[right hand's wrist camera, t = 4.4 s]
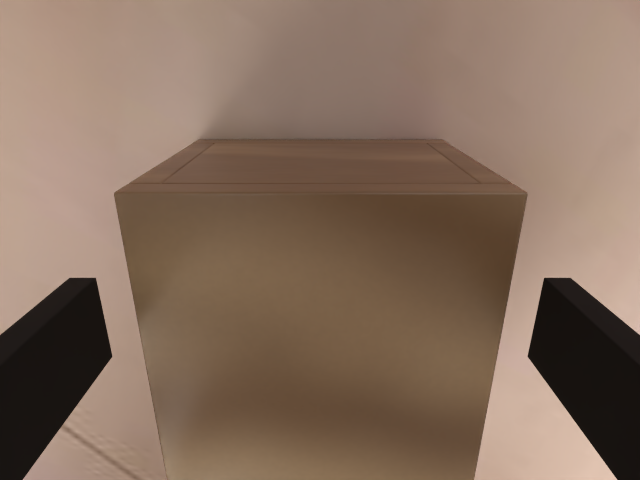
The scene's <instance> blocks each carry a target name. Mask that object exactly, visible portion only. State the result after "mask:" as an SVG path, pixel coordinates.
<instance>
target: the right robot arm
mask: <svg viewBox="0 0 640 480" xmlns="http://www.w3.org/2000/svg"><path fill="white" fill-rule="evenodd" d="M111 358H112V353H111V348H110V343H109V339H108V334H107V329H106V324H105V319H104V315H103V310H102V305H101V300H100V296H99V291H98V286H97V281H96V278H69V279H68V280H67V281H65V282H64V283H63V284H62V285H60V286H59V287H58V288H57V289H56V290H54V291H53V292H52V293H51V294H50V295H48V296H47V297H46V298H45V299H44V300H42V301H41V302H40V303H39V304H37V305H36V306H35V307H34V308H33V309H31V310H30V311H29V312H28V313H27V314H25V315H24V316H23V317H22V318H21V319H19V320H18V321H17V322H16V323H14V324H13V325H12V326H11V327H10V328H8V329H7V330H6V331H5V332H4V333H2V334H1V335H0V480H23V478H24V477H25V476H26V474H27V473H28V471H29V470H30V469H31V467H32V466H33V465H34V463H35V462H36V461H37V459H38V458H39V456H40V455H41V454H42V452H43V451H44V450H45V448H46V447H47V445H48V444H49V443H50V441H51V440H52V439H53V437H54V436H55V434H56V433H57V432H58V430H59V429H60V428H61V426H62V425H63V423H64V422H65V421H66V419H67V418H68V417H69V415H70V414H71V412H72V411H73V410H74V408H75V407H76V406H77V404H78V403H79V401H80V400H81V399H82V397H83V396H84V395H85V393H86V392H87V390H88V389H89V388H90V386H91V385H92V384H93V382H94V381H95V379H96V378H97V377H98V375H99V374H100V373H101V371H102V370H103V368H104V367H105V366H106V364H107V363H108V362H109V360H110V359H111ZM528 358H529V359H530V360H531V362H532V363H533V364H534V366H535V367H536V368H537V370H538V371H539V373H540V374H541V375H542V377H543V378H544V379H545V381H546V382H547V384H548V385H549V386H550V388H551V389H552V390H553V392H554V393H555V395H556V396H557V397H558V399H559V400H560V401H561V403H562V404H563V406H564V407H565V408H566V410H567V411H568V412H569V414H570V415H571V417H572V418H573V419H574V421H575V422H576V423H577V425H578V426H579V428H580V429H581V430H582V432H583V433H584V434H585V436H586V437H587V439H588V440H589V441H590V443H591V444H592V445H593V447H594V448H595V450H596V451H597V452H598V454H599V455H600V456H601V458H602V459H603V461H604V462H605V463H606V465H607V466H608V467H609V469H610V470H611V471H612V473H613V474H614V476H615V477H616V478H617V480H640V335H639V334H638V333H636V332H635V331H634V330H633V329H632V328H630V327H629V326H628V325H627V324H626V323H624V322H623V321H622V320H621V319H619V318H618V317H617V316H616V315H615V314H613V313H612V312H611V311H610V310H609V309H607V308H606V307H605V306H604V305H603V304H601V303H600V302H599V301H598V300H596V299H595V298H594V297H593V296H592V295H590V294H589V293H588V292H587V291H586V290H584V289H583V288H582V287H581V286H580V285H578V284H577V283H576V282H575V281H573V280H572V279H571V278H544V281H543V286H542V291H541V296H540V300H539V305H538V310H537V315H536V319H535V324H534V329H533V334H532V339H531V343H530V348H529V353H528Z"/></svg>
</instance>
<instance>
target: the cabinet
mask: <svg viewBox="0 0 640 480" xmlns="http://www.w3.org/2000/svg"><path fill="white" fill-rule="evenodd" d="M114 197H115V202H116V208H117V213H118V218H119V224H120V229H121V235H122V240H123V245H124V251H125V256H126V261H127V267H128V272H129V277H130V283H131V288H132V294H133V299H134V304H135V310H136V315H137V320H138V326H139V331H140V336H141V342H142V347H143V353H144V358H145V363H146V369H147V374H148V379H149V385H150V390H151V395H152V401H153V406H154V412H155V417H156V422H157V428H158V433H159V438H160V444H161V449H162V454H163V460H164V465H165V471H166V476H167V480H474V477H475V471H476V466H477V461H478V455H479V450H480V445H481V439H482V434H483V429H484V423H485V418H486V413H487V407H488V402H489V397H490V391H491V386H492V381H493V375H494V370H495V365H496V359H497V354H498V349H499V343H500V338H501V333H502V327H503V322H504V317H505V311H506V306H507V301H508V295H509V290H510V285H511V280H512V274H513V269H514V264H515V258H516V253H517V248H518V242H519V237H520V232H521V226H522V221H523V216H524V210H525V205H526V200H527V192H525V191H524V190H522V189H521V188H519V187H517V186H516V185H514V184H512V183H511V182H509V181H508V180H506V179H504V178H503V177H501V176H500V175H498V174H496V173H495V172H493V171H491V170H490V169H488V168H487V167H485V166H483V165H482V164H480V163H479V162H477V161H475V160H474V159H472V158H471V157H469V156H467V155H466V154H464V153H463V152H461V151H459V150H458V149H456V148H455V147H453V146H451V145H450V144H448V143H447V142H446V141H444V140H197V141H195V142H194V143H193V144H191V145H190V146H188V147H186V148H185V149H183V150H182V151H180V152H178V153H177V154H175V155H174V156H172V157H170V158H169V159H167V160H166V161H164V162H162V163H161V164H159V165H158V166H156V167H154V168H153V169H151V170H150V171H148V172H146V173H145V174H143V175H142V176H140V177H138V178H137V179H135V180H134V181H132V182H130V183H129V184H127V185H126V186H124V187H122V188H121V189H119V190H118V191H116V192H115V193H114Z"/></svg>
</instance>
